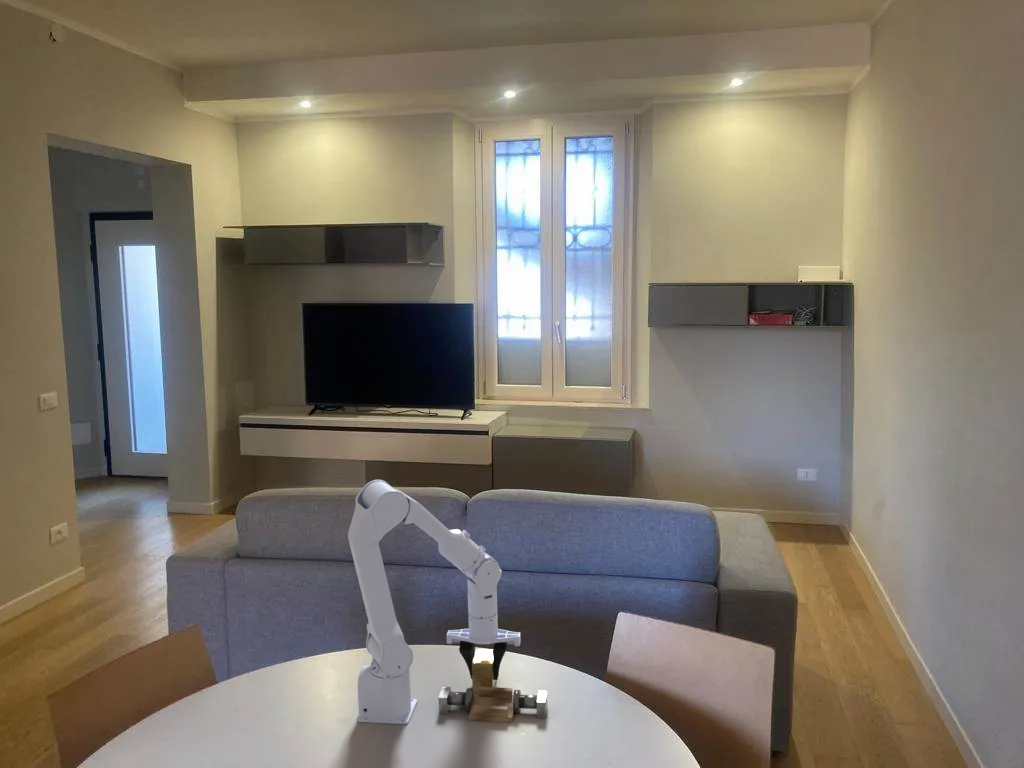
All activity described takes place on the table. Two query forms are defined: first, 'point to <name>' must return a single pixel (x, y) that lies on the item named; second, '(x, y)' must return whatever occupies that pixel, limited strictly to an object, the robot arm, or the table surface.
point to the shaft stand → (492, 703)
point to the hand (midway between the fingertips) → (484, 676)
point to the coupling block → (483, 669)
